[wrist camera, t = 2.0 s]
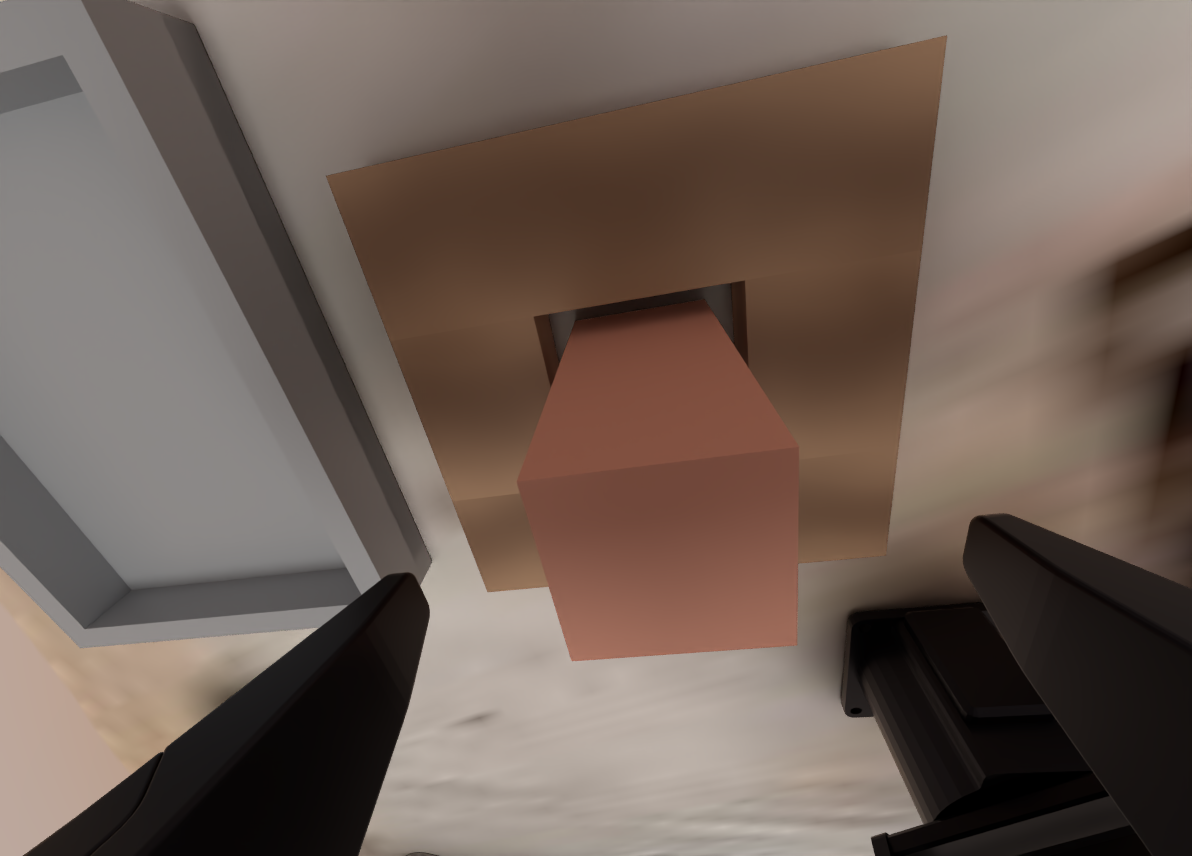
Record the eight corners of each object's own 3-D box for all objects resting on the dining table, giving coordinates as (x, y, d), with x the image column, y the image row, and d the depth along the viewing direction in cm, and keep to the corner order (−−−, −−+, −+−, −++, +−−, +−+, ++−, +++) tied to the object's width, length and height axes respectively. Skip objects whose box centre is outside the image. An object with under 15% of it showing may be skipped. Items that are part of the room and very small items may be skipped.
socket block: (859, 517, 18) (885, 555, 16) (500, 554, 20) (487, 592, 18) (897, 57, 12) (947, 35, 10) (365, 176, 13) (325, 176, 12)
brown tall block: (713, 416, 16) (796, 645, 8) (597, 432, 17) (571, 660, 9) (704, 299, 14) (799, 447, 6) (575, 320, 15) (516, 481, 7)
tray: (432, 561, 20) (402, 620, 17) (146, 591, 22) (80, 648, 19) (193, 24, 12) (70, -21, 9) (-224, 143, 14) (-426, 135, 11)
